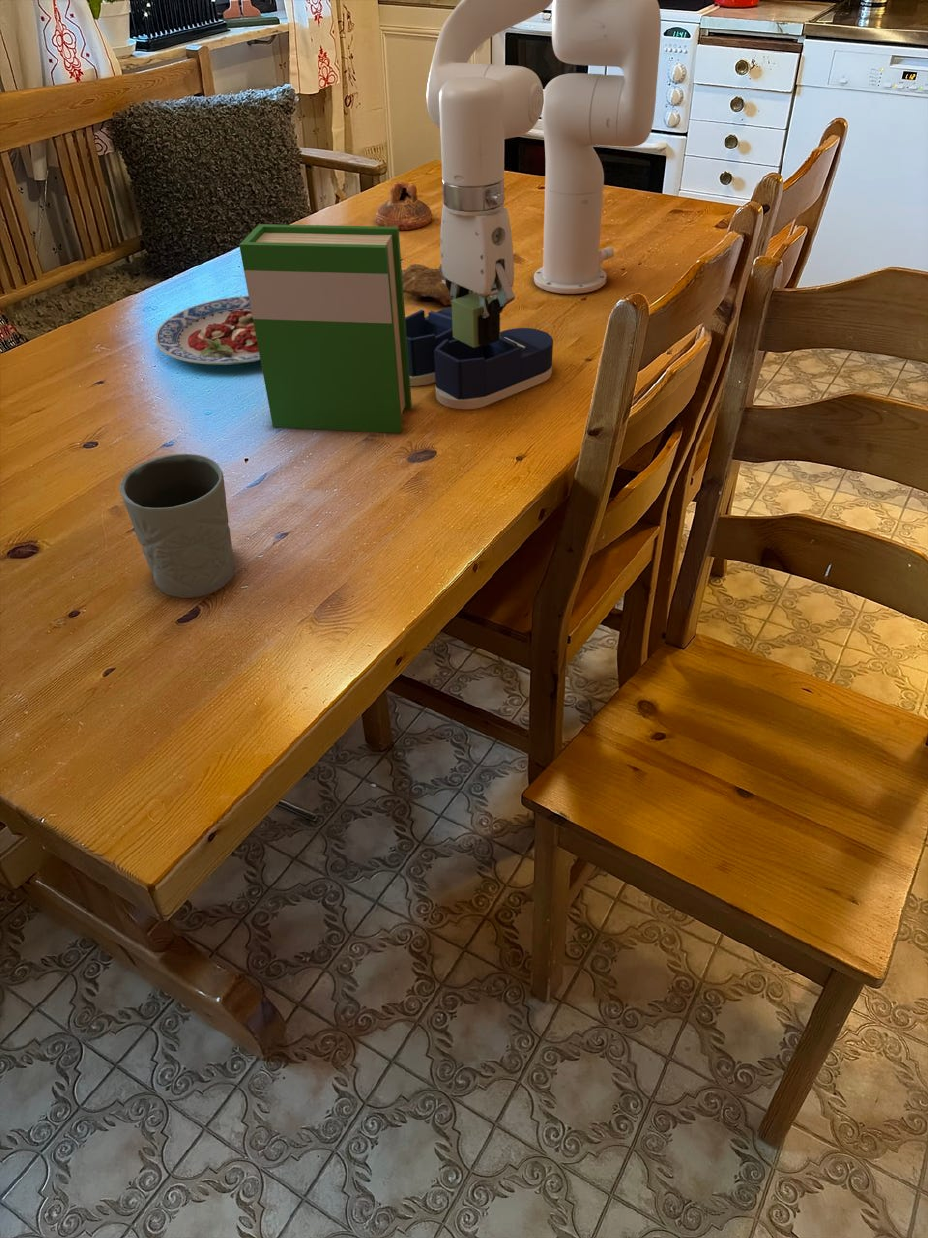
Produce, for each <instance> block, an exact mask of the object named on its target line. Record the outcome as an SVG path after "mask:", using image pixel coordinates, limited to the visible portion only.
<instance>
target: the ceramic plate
mask: <svg viewBox="0 0 928 1238" xmlns="http://www.w3.org/2000/svg"><path fill="white" fill-rule="evenodd" d="M154 342H155V344H156V346H157V348H158V349H159V350H160V351H161V352H162V353H164V354H165V355H166V356H169V357H170V358H173V359H177V360H178V361H183V362H187V363H190V364H191V363H193V364H201V365H237V364H245V363H253V362H256V361H257V362H258V361H261V360H260V355H259V349H258V344H257V338H256V333H255V328H254V322H253V317H252V311H251V306H250V301H249V295H241V296H231V297H225V298H218V299H215V300H210V301H205V302H202V303H199V304H196V305H193V306H191V307H188V308H186V309H183V310H181V311H179V312H177V313H175V314H173V315H172V316H171V317H169V318H167V319H165V321H164V322H163V323H161V325H159V326H158V328H157V330H156V331H155V335H154Z"/></svg>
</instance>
